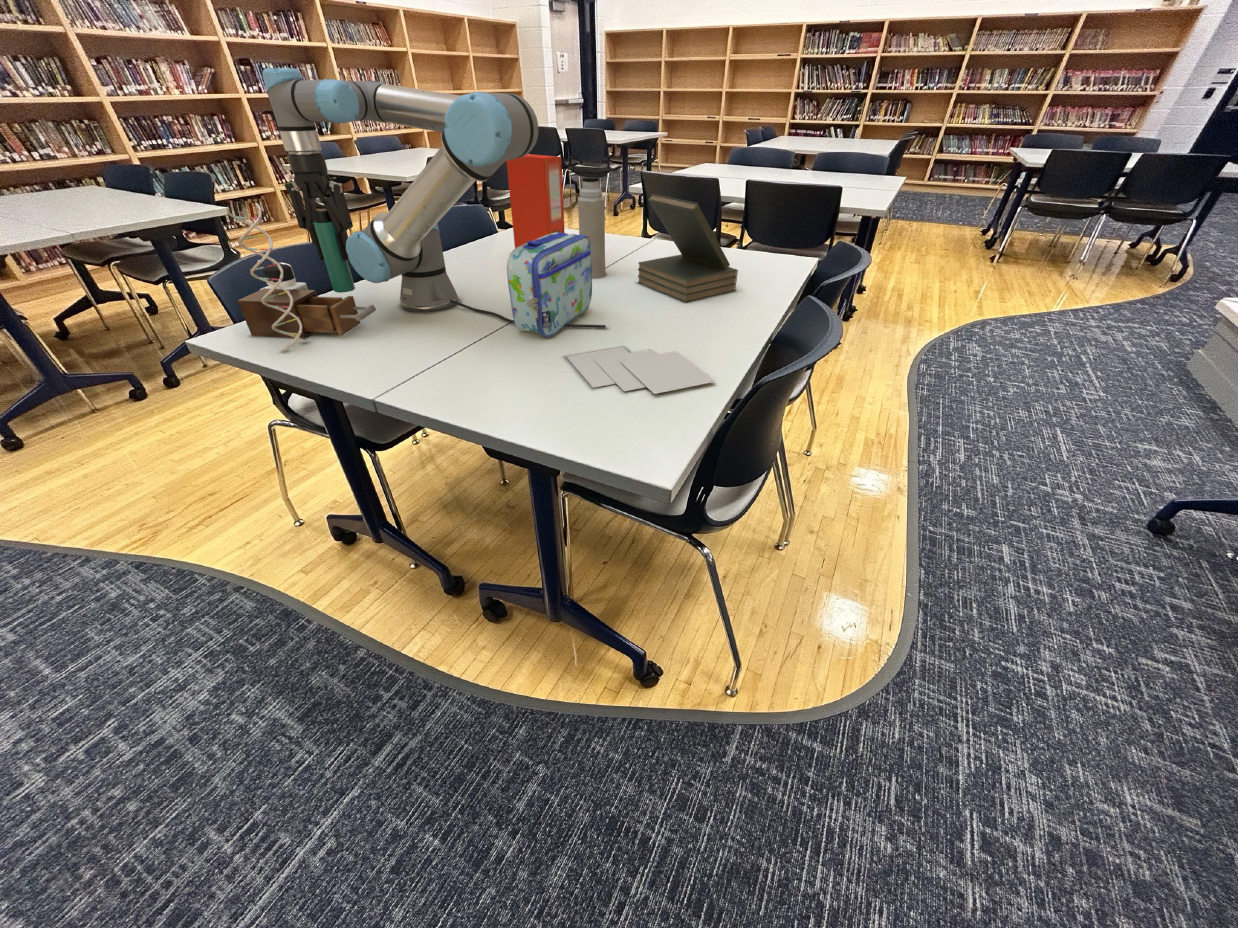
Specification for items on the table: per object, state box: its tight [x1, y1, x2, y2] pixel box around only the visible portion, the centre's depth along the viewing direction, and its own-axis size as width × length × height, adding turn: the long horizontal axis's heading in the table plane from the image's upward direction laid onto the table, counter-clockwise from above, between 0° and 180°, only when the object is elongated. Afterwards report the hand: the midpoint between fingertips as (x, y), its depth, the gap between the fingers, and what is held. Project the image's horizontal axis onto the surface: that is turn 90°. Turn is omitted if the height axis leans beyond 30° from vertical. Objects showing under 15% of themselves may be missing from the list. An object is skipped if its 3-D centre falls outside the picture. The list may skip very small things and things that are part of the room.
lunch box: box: [506, 232, 593, 338], centre depth 130 cm, size 26×11×21 cm, turn 154°
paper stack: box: [565, 346, 717, 395], centre depth 112 cm, size 23×25×1 cm
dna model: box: [225, 202, 307, 353], centre depth 114 cm, size 7×6×30 cm
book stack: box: [637, 193, 739, 304], centre depth 154 cm, size 23×20×25 cm
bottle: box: [313, 208, 356, 294], centre depth 133 cm, size 5×5×19 cm
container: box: [259, 262, 309, 290], centre depth 136 cm, size 8×8×13 cm
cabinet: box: [237, 287, 319, 339], centre depth 129 cm, size 14×10×9 cm
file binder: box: [506, 153, 566, 249], centre depth 178 cm, size 8×17×32 cm, turn 51°
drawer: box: [295, 295, 377, 336], centre depth 128 cm, size 18×8×7 cm, turn 84°
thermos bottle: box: [577, 176, 606, 279], centre depth 164 cm, size 8×8×28 cm
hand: (335, 258), depth 134 cm, fingers closed on bottle, 5 cm apart
